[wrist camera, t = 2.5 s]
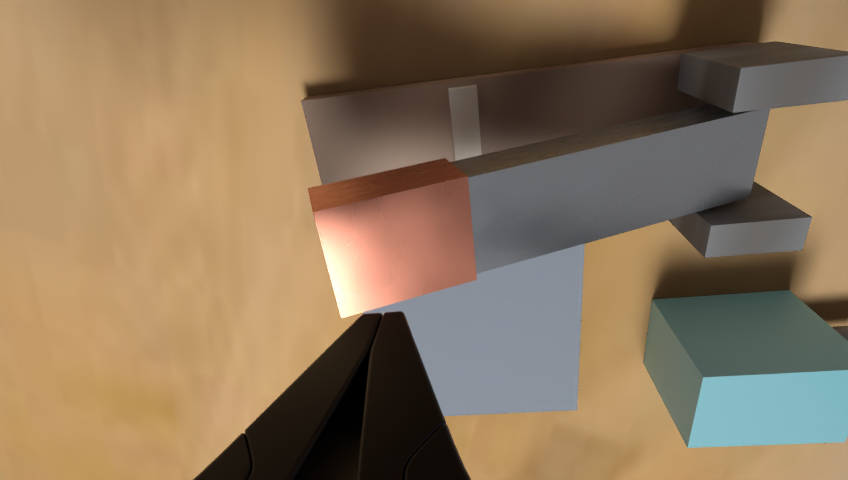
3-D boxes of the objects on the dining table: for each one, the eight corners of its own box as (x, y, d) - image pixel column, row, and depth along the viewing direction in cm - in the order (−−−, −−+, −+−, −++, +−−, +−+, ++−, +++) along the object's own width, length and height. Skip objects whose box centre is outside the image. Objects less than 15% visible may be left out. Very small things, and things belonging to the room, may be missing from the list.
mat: (578, 231, 20) (584, 242, 19) (572, 395, 24) (577, 410, 23) (355, 250, 21) (351, 262, 20) (390, 404, 25) (388, 418, 25)
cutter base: (761, 39, 16) (862, 53, 12) (729, 197, 19) (801, 250, 15) (307, 96, 18) (266, 125, 14) (340, 232, 20) (314, 288, 16)
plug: (859, 284, 20) (972, 363, 16) (833, 351, 22) (927, 439, 18) (651, 298, 21) (702, 377, 17) (642, 361, 23) (687, 447, 19)
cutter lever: (738, 92, 15) (791, 100, 14) (721, 180, 17) (767, 197, 15) (307, 188, 12) (313, 212, 11) (333, 284, 14) (341, 318, 12)
